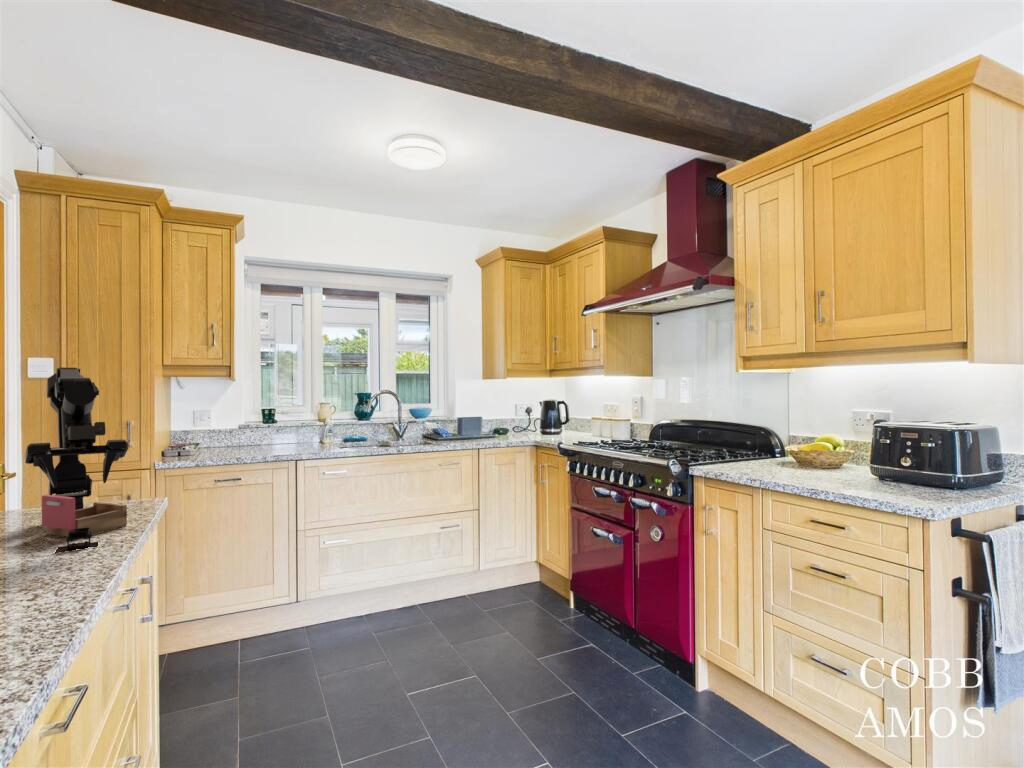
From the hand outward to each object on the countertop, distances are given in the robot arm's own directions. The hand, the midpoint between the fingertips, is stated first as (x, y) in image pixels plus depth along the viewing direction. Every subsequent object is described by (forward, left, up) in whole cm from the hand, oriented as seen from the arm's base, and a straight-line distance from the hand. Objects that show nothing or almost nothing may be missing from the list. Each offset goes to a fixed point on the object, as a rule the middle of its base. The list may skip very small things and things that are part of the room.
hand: (80, 484), depth 127 cm
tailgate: (-12, +3, -12) cm, 17 cm away
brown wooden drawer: (-12, +9, -14) cm, 21 cm away
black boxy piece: (+1, -1, -15) cm, 15 cm away
